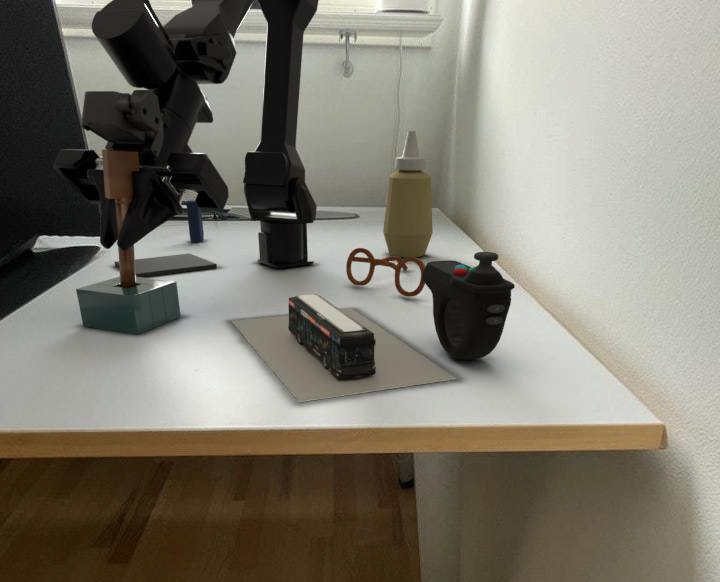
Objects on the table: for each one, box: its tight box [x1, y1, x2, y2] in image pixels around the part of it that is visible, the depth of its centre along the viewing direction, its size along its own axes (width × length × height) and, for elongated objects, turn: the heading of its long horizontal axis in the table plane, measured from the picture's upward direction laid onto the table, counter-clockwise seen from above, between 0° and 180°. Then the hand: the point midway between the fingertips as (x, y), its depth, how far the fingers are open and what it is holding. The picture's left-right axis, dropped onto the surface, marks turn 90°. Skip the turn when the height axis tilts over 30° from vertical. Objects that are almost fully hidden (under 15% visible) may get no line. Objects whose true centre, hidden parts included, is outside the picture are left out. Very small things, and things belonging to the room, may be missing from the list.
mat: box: [114, 253, 218, 278], centre depth 99 cm, size 12×10×1 cm
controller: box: [422, 251, 516, 361], centre depth 62 cm, size 4×12×10 cm, turn 19°
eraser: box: [185, 199, 205, 243], centre depth 116 cm, size 2×2×7 cm
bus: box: [230, 293, 457, 403], centre depth 65 cm, size 14×25×4 cm, turn 22°
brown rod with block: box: [101, 148, 139, 288], centre depth 69 cm, size 3×2×17 cm, turn 138°
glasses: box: [345, 247, 426, 298], centre depth 88 cm, size 13×13×5 cm
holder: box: [75, 276, 182, 335], centre depth 72 cm, size 7×7×4 cm
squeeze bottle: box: [382, 130, 434, 259], centre depth 104 cm, size 8×8×18 cm
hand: (112, 247), depth 68 cm, fingers closed on brown rod with block, 2 cm apart
